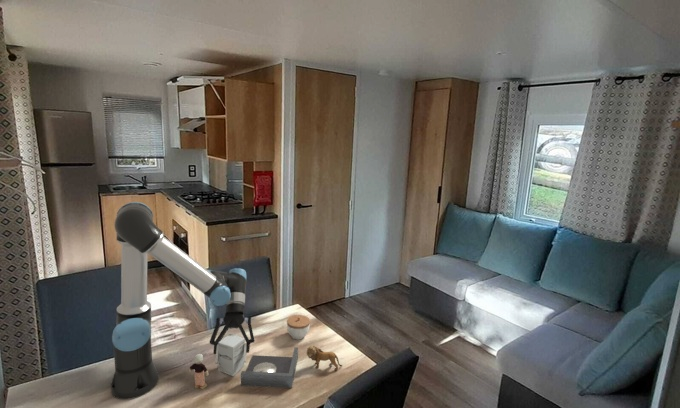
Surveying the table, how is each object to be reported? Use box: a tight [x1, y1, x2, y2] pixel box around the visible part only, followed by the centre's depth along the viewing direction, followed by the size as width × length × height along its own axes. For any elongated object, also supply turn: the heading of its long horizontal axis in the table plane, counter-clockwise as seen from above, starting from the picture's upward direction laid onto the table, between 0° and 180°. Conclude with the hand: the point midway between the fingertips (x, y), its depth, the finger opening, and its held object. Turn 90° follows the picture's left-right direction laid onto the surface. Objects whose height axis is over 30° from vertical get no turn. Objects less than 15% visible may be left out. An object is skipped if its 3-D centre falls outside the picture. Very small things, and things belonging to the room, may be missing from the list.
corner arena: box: [240, 347, 299, 389], centre depth 142 cm, size 19×18×5 cm
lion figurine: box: [306, 345, 343, 371], centre depth 146 cm, size 15×5×9 cm, turn 93°
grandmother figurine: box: [188, 353, 209, 390], centre depth 131 cm, size 8×4×13 cm, turn 90°
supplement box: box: [217, 333, 246, 377], centre depth 141 cm, size 7×7×13 cm
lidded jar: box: [286, 314, 311, 340], centre depth 167 cm, size 11×11×9 cm
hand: (230, 362), depth 138 cm, fingers closed on supplement box, 10 cm apart
